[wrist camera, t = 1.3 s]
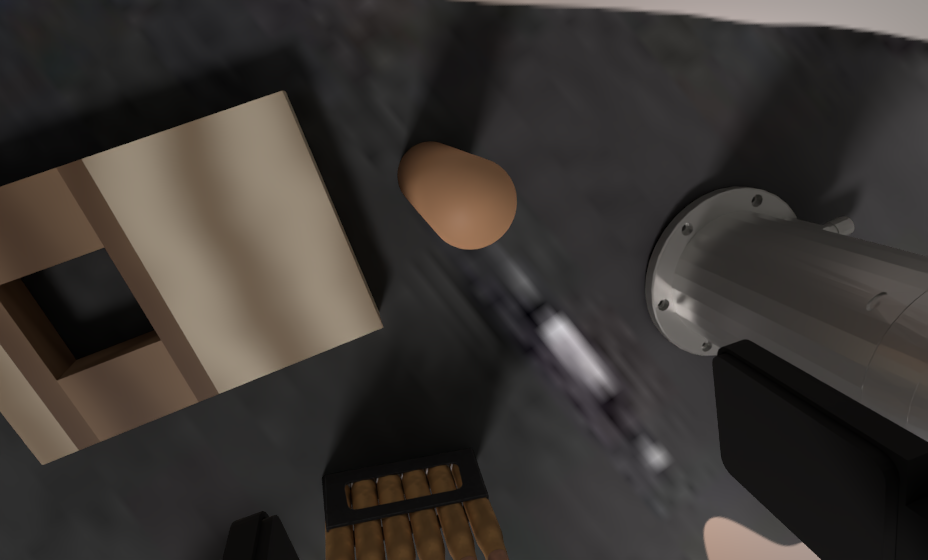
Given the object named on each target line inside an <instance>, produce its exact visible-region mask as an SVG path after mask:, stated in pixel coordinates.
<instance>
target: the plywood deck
mask: <svg viewBox="0 0 928 560" xmlns="http://www.w3.org/2000/svg"><path fill="white" fill-rule="evenodd" d="M104 247H105V249H106V251H107V252H108V254H109V256H110V257H111V259H112V260H113V262H114V264H115V265H116V267H117V269H118V270H119V272H120V274H121V275H122V277H123V279H124V280H125V282H126V283H127V285H128V287H129V288H130V290H131V292H132V293H133V295H134V297H135V298H136V300H137V302H138V303H139V305H140V306H141V308H142V310H143V311H144V313H145V315H146V316H147V318H148V320H149V321H150V323H151V325H152V326H153V328H154V329H155V330H153V331H151V332H148V333H145V334H143V335H140V336H138V337H135V338H132V339H130V340H127V341H125V342H122V343H119V344H117V345H114V346H112V347H109V348H106V349H104V350H101V351H99V352H96V353H93V354H91V355H88V356H85V357H83V358H80V359H78V360H76V359H75V357H74V356H73V354H72V353H71V351H70V350H69V348H68V347H67V346H66V344H65V343H64V341H63V340H62V338H61V337H60V335H59V334H58V332H57V331H56V330H55V328H54V327H53V325H52V324H51V322H50V321H49V319H48V318H47V316H46V315H45V314H44V312H43V311H42V309H41V308H40V306H39V305H38V303H37V302H36V300H35V299H34V298H33V296H32V295H31V293H30V292H29V290H28V289H27V287H26V286H25V284H24V283H23V282H22V280H21V279H20V278H21V277H24V276H26V275H29V274H32V273H35V272H38V271H40V270H43V269H46V268H49V267H51V266H54V265H57V264H60V263H62V262H65V261H68V260H71V259H73V258H76V257H79V256H82V255H85V254H87V253H90V252H93V251H96V250H98V249H101V248H104ZM381 328H383V325H382V321H381V318H380V314H379V311H378V309H377V306H376V304H375V302H374V299H373V297H372V294H371V292H370V290H369V287H368V285H367V283H366V280H365V278H364V276H363V273H362V271H361V268H360V266H359V264H358V261H357V259H356V257H355V254H354V252H353V249H352V247H351V245H350V242H349V240H348V238H347V235H346V233H345V231H344V228H343V226H342V223H341V221H340V219H339V216H338V214H337V212H336V209H335V207H334V204H333V202H332V200H331V197H330V195H329V193H328V190H327V188H326V186H325V183H324V181H323V178H322V176H321V174H320V171H319V169H318V167H317V164H316V162H315V160H314V157H313V155H312V152H311V150H310V148H309V145H308V143H307V141H306V138H305V136H304V133H303V131H302V129H301V126H300V124H299V122H298V119H297V117H296V115H295V112H294V110H293V107H292V105H291V103H290V100H289V98H288V96H287V93H286V91H280V92H277V93H274V94H271V95H268V96H265V97H262V98H259V99H256V100H253V101H250V102H247V103H244V104H242V105H239V106H236V107H233V108H230V109H227V110H224V111H221V112H218V113H215V114H212V115H209V116H206V117H203V118H200V119H198V120H195V121H192V122H189V123H186V124H183V125H180V126H177V127H174V128H171V129H168V130H165V131H162V132H159V133H156V134H154V135H151V136H148V137H145V138H142V139H139V140H136V141H133V142H130V143H127V144H124V145H121V146H118V147H115V148H112V149H110V150H107V151H104V152H101V153H98V154H95V155H92V156H89V157H86V158H83V159H80V160H77V161H74V162H71V163H68V164H66V165H63V166H60V167H57V168H54V169H51V170H48V171H45V172H42V173H39V174H36V175H33V176H30V177H27V178H24V179H21V180H19V181H16V182H13V183H10V184H7V185H4V186H1V187H0V412H1V413H2V414H3V416H4V417H5V418H6V419H7V421H8V422H9V423H10V425H11V426H12V427H13V428H14V430H15V431H16V432H17V434H18V435H19V436H20V437H21V439H22V440H23V441H24V442H25V444H26V445H27V446H28V448H29V449H30V450H31V451H32V453H33V454H34V455H35V456H36V458H37V459H38V460H39V462H40V463H41V464H42V465H44V464H46V463H49V462H51V461H54V460H56V459H59V458H61V457H64V456H66V455H69V454H71V453H74V452H76V451H79V450H81V449H83V448H86V447H88V446H91V445H93V444H96V443H98V442H101V441H103V440H106V439H108V438H111V437H113V436H116V435H118V434H121V433H123V432H126V431H128V430H131V429H133V428H135V427H138V426H140V425H143V424H145V423H148V422H150V421H153V420H155V419H158V418H160V417H163V416H165V415H168V414H170V413H173V412H175V411H178V410H180V409H183V408H185V407H188V406H190V405H192V404H195V403H197V402H200V401H202V400H205V399H207V398H210V397H212V396H215V395H217V394H220V393H222V392H225V391H227V390H230V389H232V388H235V387H237V386H240V385H242V384H245V383H247V382H249V381H252V380H254V379H257V378H259V377H262V376H264V375H267V374H269V373H272V372H274V371H277V370H279V369H282V368H284V367H287V366H289V365H292V364H294V363H297V362H299V361H302V360H304V359H306V358H309V357H311V356H314V355H316V354H319V353H321V352H324V351H326V350H329V349H331V348H334V347H336V346H339V345H341V344H344V343H346V342H349V341H351V340H354V339H356V338H359V337H361V336H363V335H366V334H368V333H371V332H373V331H376V330H378V329H381Z"/></svg>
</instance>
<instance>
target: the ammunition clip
mask: <svg viewBox="0 0 928 560" xmlns="http://www.w3.org/2000/svg"><path fill="white" fill-rule="evenodd" d="M322 485H323V497H324V510H325V535H326V560H355V556H354V547H356V557H357V560H386V559H385V551H384V543H383V541H384V540H385V545H386V551H387V558H388V560H415V558H416V554H415V548H414V543H413V538H412V534H413V535H414V539H415V544H416V549H417V553H418V556H419V559H420V560H445V547H444V543H443V539H442V535H441V531H440V528H442V530H443V533H444V537H445V540H446V544H447V547H448V550H449V552H450V554H451V556H452V558H453V559H454V560H477V557H476V554H475V547H474V540H473V536H472V533H471V530H470V527H469V524H468V522H470V524H471V527H472V530H473V533H474V536H475V538H476V541H477V544H478V546H479V547H480V549H481V550H482V552H483V553H484V556H485V558H486V560H509V558H508V555H507V551H506V548H505V545H504V541H503V535H502V531H501V529H500V526H499V524H498V521H497V519H496V516H495V514H494V511H493V509H492V506H491V504H490V501H489V499H488V498H489V497H488V492H487V490H486V487H485V484H484V481H483V478H482V475H481V472H480V469H479V466H478V463H477V460H476V457H475V454H474V452H473V449H472V448H468V449H463V450H458V451H452V452H447V453H441V454H436V455H431V456H425V457H420V458H414V459H409V460H404V461H398V462H393V463H387V464H382V465H377V466H371V467H366V468H360V469H355V470H350V471H344V472H339V473H333V474H328V475H324V476H323V477H322ZM456 485H457V488H458V489H457V488H456ZM429 489H431V491H432V494H430V490H429ZM404 494H405V498H406V500H405V498H404ZM378 499H379V504H380V505H379V504H378ZM461 502H463V506H462V503H461ZM351 505H352V507H351ZM352 508H353V509H352ZM434 508H436V509H437V512H438V515H437V516H436V513H435V509H434ZM408 513H409V516H410V521H409V518H408ZM380 519H382V524H383V527H381V520H380ZM353 524H354V531H353Z"/></svg>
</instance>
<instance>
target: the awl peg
mask: <svg viewBox="0 0 928 560" xmlns="http://www.w3.org/2000/svg"><path fill="white" fill-rule="evenodd" d="M398 183H399V187H400V189H401V191H402V193H403V195H404V196H405V197H406V198H407V199H408V201H409V202H410V203H411V204H412V205H413V206H414V208H415V209H416V210H417V211H418V212H419V213H420V215H421V216H422V217H423V218H424V219H425V220H426V221H427V223H428V224H429V225H430V226H431V227H432V228H433V230H434V231H435V232H436V233H437V234H438V235H439V236H440V237H441V238H442V239H443V240H444V241H445V242H447V243H448V244H450V245H452V246H455V247H457V248H461V249H479V248H483V247H486V246H488V245H490V244H492V243H494V242H495V241H497V240H498V239H499V238H500V237H502V236H503V234H504V233H505V232H506V231H507V230H508V228H509V227H510V225H511V223H512V221H513V219H514V216H515V212H516V206H517V197H516V191H515V187H514V184H513V182H512V180H511V178H510V177H509V175H508V174H507V173H506V172H505V170H504V169H503V168H501V167H500V166H499V165H497V164H496V163H494V162H492V161H490V160H487V159H484V158H481V157H479V156H476V155H473V154H470V153H467V152H464V151H462V150H459V149H456V148H453V147H450V146H448V145H445V144H442V143H439V142H433V141H428V142H422V143H419V144H417V145H415V146H413V147H412V148H410V149H409V150H408V151H407V152H406V153H405V155H404V156H403V157H402V159H401V161H400V164H399V167H398Z"/></svg>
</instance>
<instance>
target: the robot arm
mask: <svg viewBox="0 0 928 560" xmlns="http://www.w3.org/2000/svg"><path fill="white" fill-rule="evenodd" d="M852 232H854V224H853V222H852V221H851V219H850V218H848V217H846V216H841V217H838V218H836V219H834V220H831V221H829V222H826V223H825V224H824V225H819V224H815V223H811V222H807V221H803V220H799V219H797V217H796V215H795V213H794V212H793V211H792V209H791V208H790V207H789V206H788V204H787V203H786V202H784V201H783V200H782V199H780V198H779V197H778V196H776V195H774V194H772V193H770V192H767V191H765V190H761V189H756V188H752V187H740V186H732V187H727V188H722V189H718V190H715V191H713V192H710V193H708V194H705V195H703V196H701V197H700V198H698V199H697V200H695V201H693V202H692V203H690V204H689V205H688V206H686V207H685V208H684V209H683V210H682V211H681V212H680V213H679V214H677V215H676V216H675V218H674V219H673V220H672V221H671V222H670V224H669V225H668V226H667V227H666V229H665V230H664V232H663V233H662V235H661V237H660V238H659V240H658V242H657V244H656V245H655V248H654V250H653V253H652V255H651V258H650V261H649V265H648V269H647V274H646V284H645V296H646V302H647V308H648V311H649V314H650V316H651V319H652V322H653V323H654V324H655V326H656V327H657V329H658V330H659V332H660V333H661V334H662V335H663V336H664V337H665V338H666V339H667V340H669V341H670V342H671V343H673V344H674V345H676V346H678V347H679V348H680V349H682V350H685V351H687V352H690V353H692V354H697V355H702V356H711V355H717V356H716V357H714V358H713V362H712V365H713V376H714V386H715V397H716V408H717V418H718V429H719V440H720V450H721V458H722V461H723V464H724V466H725V468H726V469H727V471H728V472H729V473H730V474H731V475H732V476H733V477H734V478H735V479H736V480H737V481H738V482H739V483H740V484H741V485H742V486H743V487H744V488H746V489H747V490H748V491H749V492H750V493H751V494H752V495H753V496H754V497H755V498H756V499H757V500H758V501H759V502H760V503H762V504H763V505H764V506H765V507H766V508H767V509H768V510H769V511H770V512H771V513H772V514H773V515H774V516H775V517H776V518H778V519H779V520H780V521H781V522H782V523H783V524H784V525H785V526H786V527H787V528H788V529H789V530H790V531H791V532H792V533H794V534H795V535H796V536H797V537H798V538H799V539H800V540H801V541H802V542H803V543H804V544H805V545H806V546H807V547H808V548H810V549H811V550H812V551H813V552H814V553H815V554H816V555H817V556H818V557H819V558H820V559H821V560H928V256H924V255H920V254H916V253H912V252H908V251H904V250H900V249H897V248H893V247H889V246H885V245H881V244H877V243H873V242H869V241H865V240H862V239H858V238H854V237H850V236H847V235H849V234H851V233H852ZM223 560H299V558H298V556H297V554H296V552H295V549H294V547H293V545H292V543H291V541H290V539H289V537H288V535H287V533H286V531H285V529H284V527H283V524H282V522H281V520H280V519H279V517H278V516H277V515H274V516H271V517H269V516H268V514H267V513H266V512H264V511H262V512H259V513H256V514H253V515H251V516H248V517H245V518H242V519H239V520H237V521H234V522H233V523H232V525H231V527H230V531H229V535H228V539H227V544H226V548H225V552H224V556H223Z"/></svg>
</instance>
